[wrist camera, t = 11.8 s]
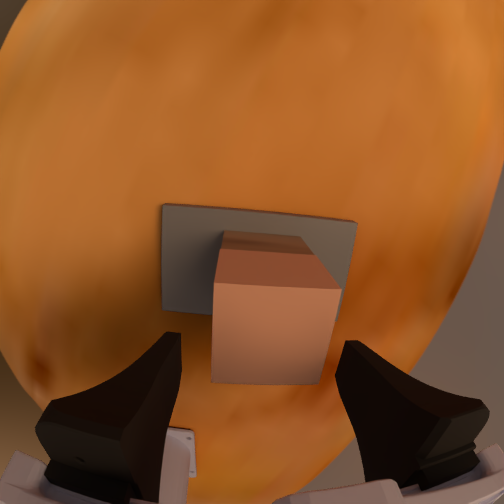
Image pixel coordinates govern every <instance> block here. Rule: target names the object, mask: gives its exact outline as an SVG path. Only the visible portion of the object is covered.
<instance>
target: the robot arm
mask: <svg viewBox="0 0 504 504" xmlns="http://www.w3.org/2000/svg"><path fill="white" fill-rule="evenodd" d="M181 372H182V361H181V333H175V332H166V333H164V334H163V335H162V337H161V338H160V339H159V340H158V341H157V342H156V343H155V344H154V345H153V346H152V347H151V348H150V349H149V350H148V351H146V352H145V353H144V354H143V355H142V356H141V357H140V358H139V359H138V360H136V361H135V362H134V363H133V364H131V365H130V366H129V367H128V368H126V369H125V370H124V371H122V372H121V373H119V374H117V375H116V376H114V377H113V378H111V379H109V380H107V381H105V382H103V383H101V384H99V385H97V386H95V387H93V388H90V389H88V390H86V391H83V392H80V393H77V394H74V395H71V396H67V397H63V398H59V399H55V400H51V402H50V403H49V405H48V406H47V407H46V409H45V411H44V412H43V414H42V416H41V418H40V419H39V421H38V423H37V425H36V427H35V430H36V431H35V432H36V434H37V436H38V439H39V441H40V443H41V444H42V446H43V447H44V449H45V451H46V452H47V454H48V455H49V457H50V459H51V460H50V462H49V464H48V466H47V465H46V464H45V463H44V462H42V461H41V460H39V459H36V458H34V457H32V456H30V455H28V454H25V453H23V452H21V451H19V450H15V452H14V454H13V456H12V458H11V460H10V462H9V463H8V465H7V467H6V469H5V471H4V473H3V475H2V477H1V479H0V504H186V499H187V489H188V479H189V477H196V475H197V472H196V456H195V438H194V432H193V431H191V430H185V429H177V428H170V427H168V426H169V422H170V419H171V415H172V412H173V408H174V405H175V401H176V398H177V394H178V391H179V386H180V379H181ZM335 378H336V382H337V387H338V391H339V394H340V397H341V399H342V402H343V404H344V407H345V409H346V412H347V414H348V417H349V419H350V421H351V424H352V426H353V429H354V432H355V435H356V438H357V442H358V445H359V450H360V454H361V458H362V464H363V468H364V475H365V483H361V484H355V485H349V486H344V487H337V488H330V489H323V490H315V491H306V492H301V493H295V494H290V495H287V496H285V497H282V498H279V499H277V500H275V501H274V502H273V503H272V504H492V503H494V502H495V501H496V500H497V499H498V498H499V497H500V496H501V495H502V494H504V453H503V451H502V450H501V448H500V447H499V446H498V444H496V443H495V444H493V445H491V446H489V447H487V448H485V449H483V450H482V451H480V452H479V453H477V454H475V452H474V451H473V450H474V449H475V448H476V445H475V443H474V442H473V441H474V439H475V438H476V437H477V435H478V434H479V432H480V431H481V430H482V428H483V427H484V426H485V424H486V422H487V420H488V418H489V412H490V411H489V410H488V408H487V407H486V406H485V404H484V403H483V402H482V401H481V400H480V399H475V398H468V397H463V396H459V395H455V394H452V393H448V392H445V391H442V390H439V389H437V388H434V387H432V386H429V385H427V384H425V383H423V382H420V381H419V380H417V379H415V378H413V377H411V376H409V375H408V374H406V373H404V372H403V371H401V370H400V369H398V368H396V367H395V366H393V365H392V364H390V363H389V362H388V361H386V360H385V359H383V358H382V357H381V356H379V355H378V354H377V353H375V352H374V351H373V350H371V349H370V348H368V347H367V346H366V345H364V344H363V343H361V342H360V341H358V340H350V341H345V344H344V347H343V351H342V354H341V357H340V361H339V364H338V367H337V370H336V373H335Z"/></svg>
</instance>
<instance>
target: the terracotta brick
mask: <svg viewBox="0 0 504 504" xmlns="http://www.w3.org/2000/svg"><path fill="white" fill-rule="evenodd" d="M341 291H342V289H341V288H340V286H339V285H338V284H337V282H336V281H335V280H334V278H333V277H332V276H331V274H330V273H329V272H328V270H327V269H326V268H325V266H324V265H323V264H322V263H321V261H320V260H319V259H318V257H317V256H316V255H306V254H291V253H277V252H262V251H247V250H232V249H220V251H219V257H218V263H217V268H216V274H215V280H214V295H213V324H212V365H211V382H213V383H229V384H254V385H308V384H319V380H320V377H321V373H322V369H323V366H324V362H325V358H326V355H327V351H328V347H329V343H330V339H331V335H332V331H333V327H334V323H335V318H336V314H337V309H338V305H339V300H340V296H341Z"/></svg>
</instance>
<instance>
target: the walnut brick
mask: <svg viewBox="0 0 504 504" xmlns="http://www.w3.org/2000/svg"><path fill="white" fill-rule="evenodd" d="M221 249H232V250H247V251H262V252H277V253H291V254H306V255H314V254H313V252H312V251H311V250H310V248H309V247H308V246H307V245H306V243H305V242H304V241H303V239H302V238H301V237H300V236H289V235H278V234H266V233H254V232H242V231H229V230H224V234H223V240H222V246H221Z"/></svg>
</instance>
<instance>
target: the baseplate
mask: <svg viewBox="0 0 504 504" xmlns="http://www.w3.org/2000/svg"><path fill="white" fill-rule="evenodd" d="M357 224H358V223H356V222H354V221H351V220H343V219H335V218H326V217H318V216H309V215H300V214H290V213H280V212H270V211H260V210H249V209H237V208H225V207H213V206H200V205H185V204H170V203H165V204H164V205H163V211H162V253H161V276H162V310H165V311H175V312H185V313H195V314H206V315H213V295H214V280H215V274H216V268H217V263H218V257H219V251H220V249H221V246H222V240H223V234H224V230H229V231H242V232H254V233H266V234H278V235H289V236H300V237H301V238H302V239H303V241H304V242H305V243H306V245H307V246H308V247H309V248H310V250H311V251H312V252H313V254H314V255H316V256H317V257H318V259H319V260H320V261H321V263H322V264H323V265H324V266H325V268H326V269H327V270H328V272H329V273H330V274H331V276H332V277H333V278H334V280H335V281H336V282H337V284H338V285H339V286H340V288H341V289H342V291H341V296H340V300H339V305H338V309H337V314H336V318H335V321H337V319H338V315H339V311H340V307H341V302H342V298H343V294H344V289H345V285H346V281H347V276H348V271H349V266H350V262H351V257H352V251H353V246H354V241H355V236H356V230H357Z"/></svg>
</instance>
